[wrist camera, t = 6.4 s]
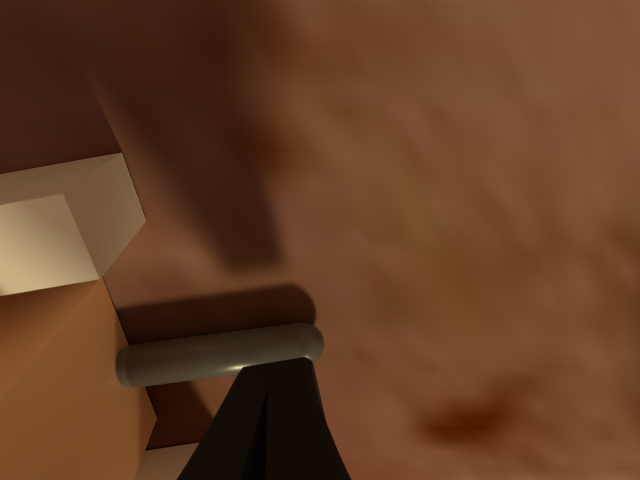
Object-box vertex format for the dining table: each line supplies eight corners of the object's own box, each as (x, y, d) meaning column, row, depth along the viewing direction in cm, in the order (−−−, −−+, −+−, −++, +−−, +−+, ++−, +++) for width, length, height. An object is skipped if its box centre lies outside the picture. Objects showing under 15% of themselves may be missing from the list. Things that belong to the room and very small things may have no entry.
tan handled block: (333, 396, 12) (349, 585, 8) (-8, 438, 12) (-162, 643, 8) (310, 248, 10) (315, 396, 6) (-92, 301, 10) (-346, 478, 6)
